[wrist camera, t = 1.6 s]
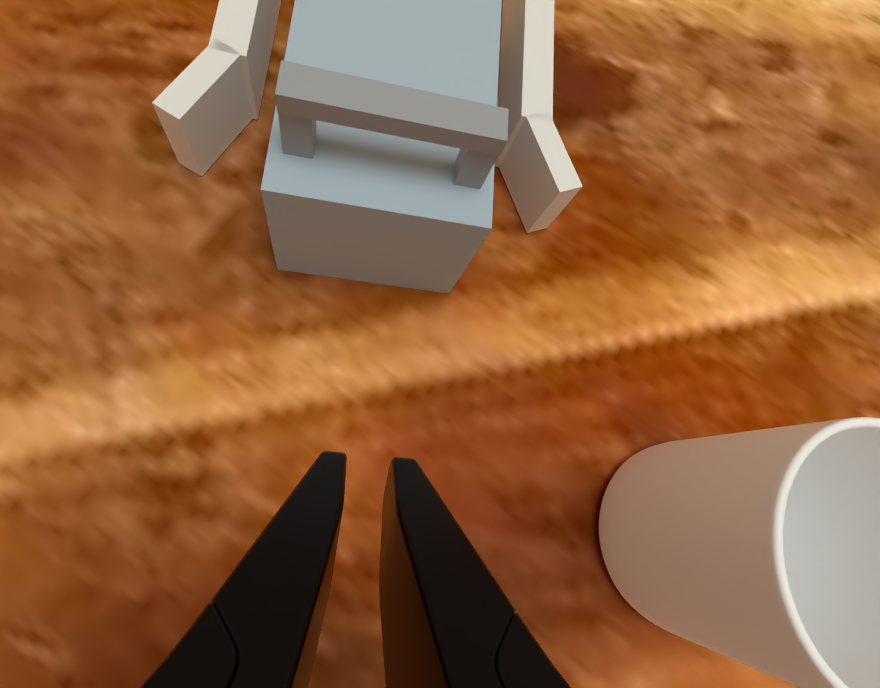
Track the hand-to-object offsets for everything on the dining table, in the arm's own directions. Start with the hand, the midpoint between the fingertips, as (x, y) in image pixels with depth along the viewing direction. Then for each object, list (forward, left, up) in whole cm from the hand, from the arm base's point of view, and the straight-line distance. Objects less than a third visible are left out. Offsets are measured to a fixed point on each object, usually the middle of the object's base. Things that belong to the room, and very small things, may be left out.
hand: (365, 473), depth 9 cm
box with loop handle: (+13, +11, -14) cm, 22 cm away
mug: (+11, -14, -14) cm, 22 cm away
